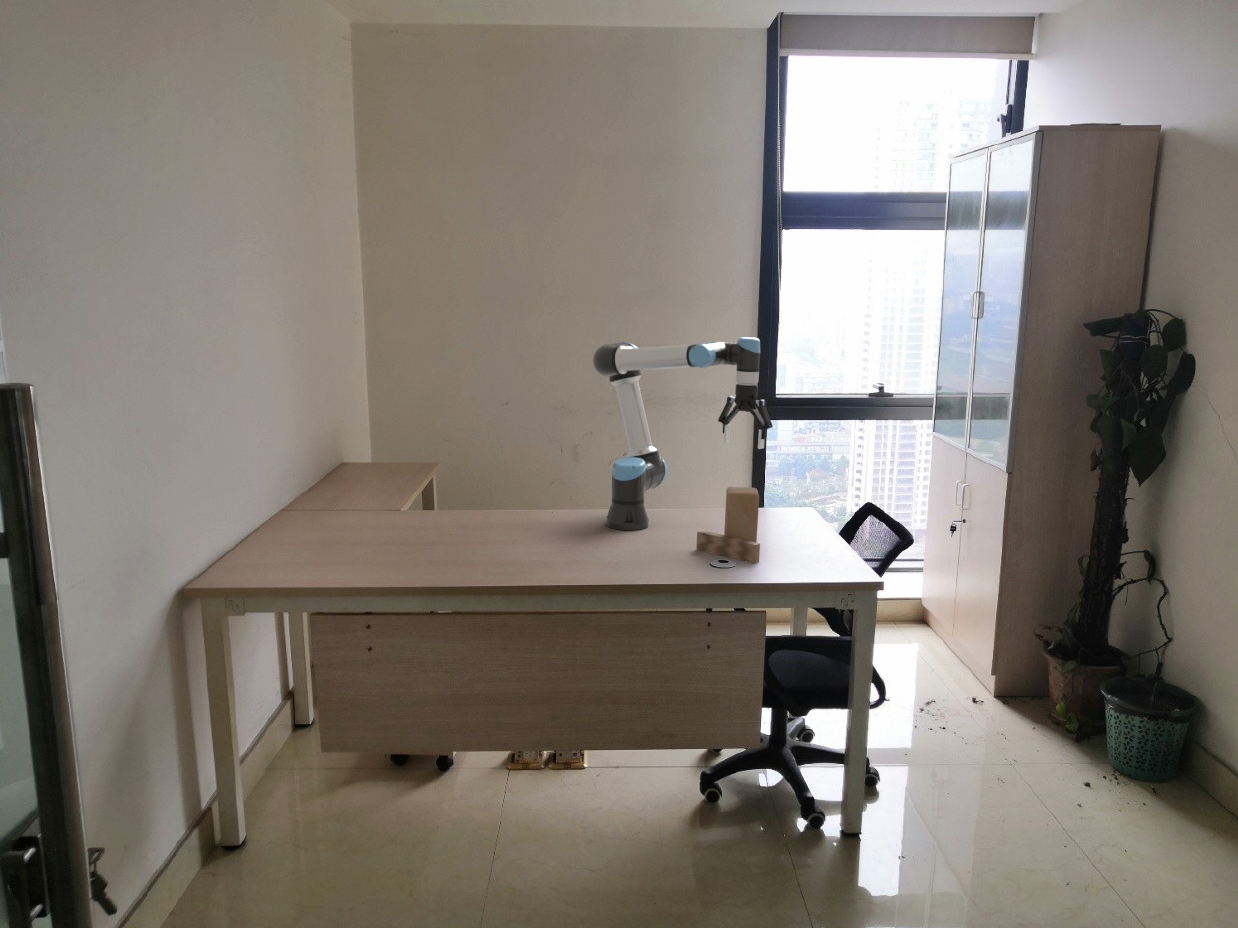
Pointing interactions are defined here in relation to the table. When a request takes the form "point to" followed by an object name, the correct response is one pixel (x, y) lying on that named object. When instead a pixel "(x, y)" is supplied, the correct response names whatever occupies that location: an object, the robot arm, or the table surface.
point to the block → (741, 513)
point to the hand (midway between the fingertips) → (743, 445)
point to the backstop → (728, 546)
